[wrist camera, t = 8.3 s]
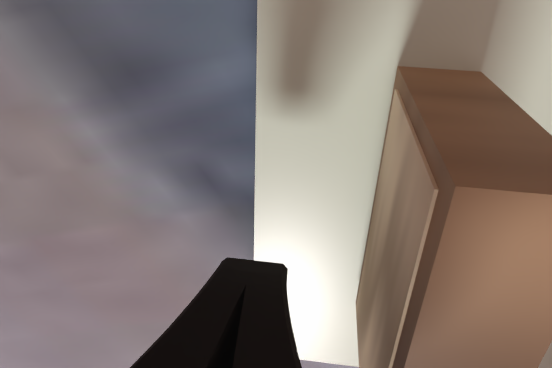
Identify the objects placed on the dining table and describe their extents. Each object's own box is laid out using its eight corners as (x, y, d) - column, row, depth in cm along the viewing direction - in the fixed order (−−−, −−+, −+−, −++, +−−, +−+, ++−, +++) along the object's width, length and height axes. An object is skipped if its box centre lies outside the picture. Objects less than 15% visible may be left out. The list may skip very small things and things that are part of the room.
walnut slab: (415, 309, 14) (460, 517, 9) (353, 302, 15) (363, 502, 9) (481, 71, 10) (624, 201, 5) (395, 66, 11) (450, 185, 5)
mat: (631, 388, 16) (641, 403, 15) (255, 340, 17) (252, 353, 16) (1024, -166, 8) (1073, -174, 7) (264, -180, 9) (260, -187, 9)
